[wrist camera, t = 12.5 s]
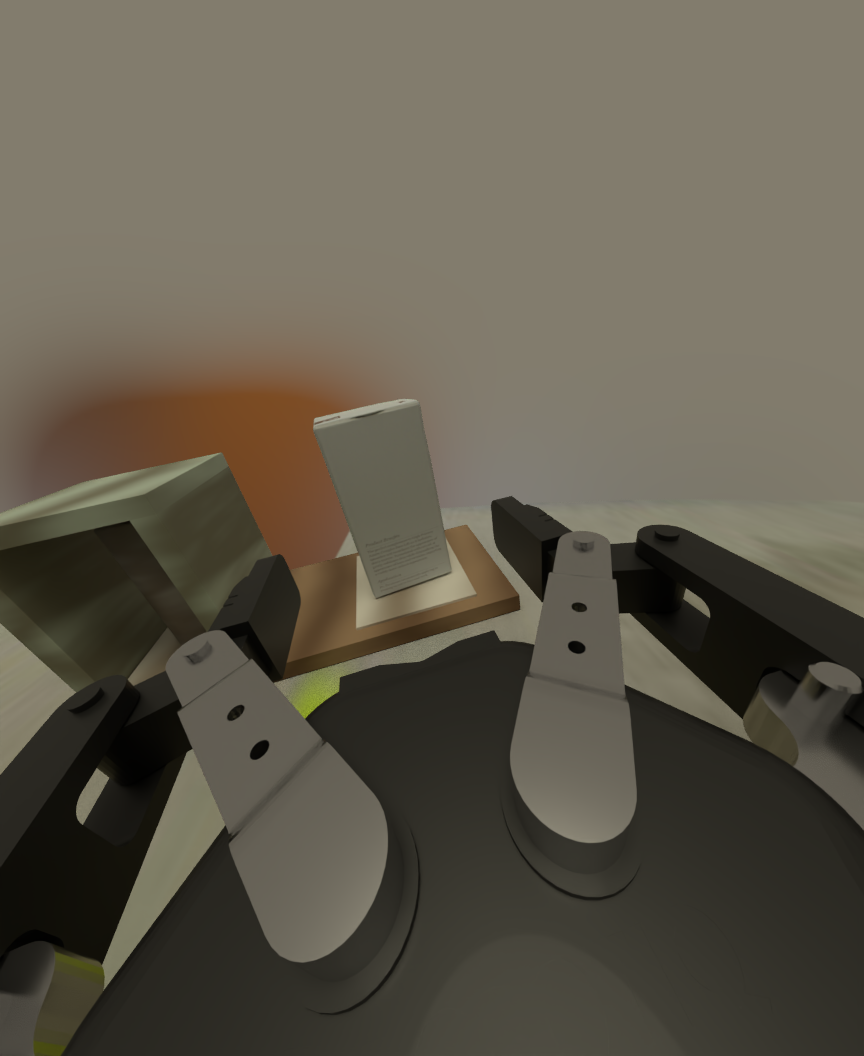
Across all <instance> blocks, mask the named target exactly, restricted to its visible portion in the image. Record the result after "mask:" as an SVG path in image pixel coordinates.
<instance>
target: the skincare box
mask: <svg viewBox="0 0 864 1056" xmlns="http://www.w3.org/2000/svg"><path fill="white" fill-rule="evenodd" d="M313 431H314V434H315V437H316V439H317V442H318V444H319V447H320V449H321V452H322V455H323V458H324V460H325V463H326V466H327V468H328V471H329V474H330V477H331V479H332V482H333V485H334V488H335V490H336V493H337V496H338V499H339V501H340V504H341V507H342V509H343V512H344V515H345V518H346V521H347V523H348V526H349V529H350V532H351V534H352V537H353V540H354V543H355V545H356V548H357V551H358V553H359V556H360V559H361V562H362V564H363V567H364V570H365V573H366V575H367V578H368V581H369V584H370V587H371V589H372V592H373V595H374V597H376V598H378V597H381V596H384V595H387V594H389V593H392V592H395V591H398V590H401V589H403V588H406V587H409V586H412V585H415V584H417V583H420V582H423V581H426V580H429V579H431V578H434V577H437V576H440V575H443V574H445V573H448V572H451V571H452V568H451V563H450V558H449V553H448V548H447V543H446V537H445V532H444V527H443V522H442V516H441V511H440V506H439V501H438V495H437V490H436V485H435V480H434V475H433V470H432V464H431V459H430V454H429V450H428V445H427V440H426V436H425V431H424V426H423V420H422V414H421V407H420V404H419V402H418V401H417V400H413V399H400V400H395V401H390V402H385V403H380V404H375V405H371V406H366V407H361V408H357V409H353V410H348V411H345V412H340V413H336V414H332V415H327V416H323V417H319V418H315V419H314V428H313Z"/></svg>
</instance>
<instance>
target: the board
mask: <svg viewBox="0 0 864 1056" xmlns="http://www.w3.org/2000/svg"><path fill="white" fill-rule="evenodd" d="M444 532H445V537H446V543H447V548H448V553H449V558H450V563H451V568H452V571H451V572H448V573H445V574H443V575H440V576H437V577H434V578H431V579H429V580H426V581H423V582H420V583H417V584H415V585H412V586H409V587H406V588H403V589H401V590H398V591H395V592H392V593H389V594H387V595H384V596H381V597H378V598H376V597H374V595H373V592H372V589H371V587H370V584H369V581H368V578H367V575H366V573H365V570H364V567H363V564H362V562H361V559H360V556H359V553H355V554H351V555H347V556H343V557H339V558H335V559H332V560H328V561H324V562H320V563H316V564H312V565H308V566H305V567H301V568H297V569H293V570H290V572H291V574H292V576H293V578H294V580H295V583H296V585H297V587H298V589H299V592H300V597H301V606H300V610H299V614H298V618H297V622H296V626H295V630H294V635H293V639H292V643H291V647H290V651H289V655H288V659H287V663H286V668H285V672H284V676H283V679H286V678H290V677H293V676H296V675H300V674H303V673H306V672H310V671H313V670H317V669H320V668H323V667H327V666H330V665H334V664H337V663H340V662H344V661H347V660H350V659H354V658H357V657H361V656H364V655H367V654H371V653H374V652H377V651H381V650H384V649H388V648H391V647H394V646H398V645H401V644H405V643H408V642H411V641H415V640H418V639H421V638H425V637H428V636H432V635H435V634H438V633H442V632H445V631H448V630H452V629H455V628H459V627H462V626H465V625H469V624H472V623H476V622H479V621H482V620H486V619H489V618H492V617H496V616H499V615H503V614H506V613H509V612H513V611H516V610H519V609H520V601H519V594H518V593H517V592H516V590H515V589H514V588H513V586H512V585H511V584H510V582H509V581H508V580H507V578H506V577H505V575H504V574H503V573H502V571H501V570H500V569H499V567H498V566H497V565H496V563H495V562H494V561H493V559H492V558H491V557H490V555H489V554H488V553H487V551H486V550H485V549H484V547H483V546H482V545H481V543H480V542H479V541H478V539H477V538H476V536H475V535H474V534H473V532H472V531H471V530H470V528H469V527H468V526H467V525H463V526H459V527H455V528H451V529H447V530H444ZM271 556H272V554H271V552H270V550H269V548H268V546H267V544H266V542H265V540H264V538H263V536H262V534H261V532H260V530H259V528H258V525H257V523H256V522H255V519H254V517H253V515H252V513H251V512H250V509H249V507H248V505H247V503H246V501H245V499H244V497H243V495H242V493H241V491H240V489H239V487H238V485H237V482H236V481H235V478H234V476H233V474H232V472H231V470H230V468H229V466H228V464H227V462H226V460H225V458H224V456H223V454H222V453H218V454H213V455H208V456H203V457H199V458H194V459H189V460H185V461H180V462H175V463H171V464H166V465H161V466H157V467H152V468H147V469H143V470H138V471H133V472H128V473H124V474H120V475H114V476H110V477H106V478H100V479H96V480H91V481H87V482H82V483H79V484H77V485H74V486H71V487H69V488H66V489H64V490H61V491H58V492H55V493H53V494H50V495H47V496H45V497H42V498H40V499H37V500H34V501H31V502H29V503H26V504H23V505H21V506H18V507H15V508H13V509H10V510H8V511H5V512H2V513H0V623H1V624H2V625H3V626H4V627H5V628H6V629H7V630H8V631H9V632H11V633H12V634H13V635H14V636H15V637H16V638H17V639H18V640H19V641H20V642H22V643H23V644H24V645H25V646H26V647H27V648H28V649H29V650H30V651H31V652H33V653H34V654H35V655H36V656H37V657H38V658H39V659H40V660H41V661H42V662H43V663H45V664H46V665H47V666H48V667H49V668H50V669H51V670H52V671H53V672H54V673H56V674H57V675H58V676H59V677H60V678H61V679H62V680H63V681H64V682H65V683H67V684H68V685H69V686H70V687H71V688H72V689H73V690H74V691H75V692H76V693H77V692H78V691H80V690H81V689H83V688H85V687H86V686H88V685H90V684H92V683H94V682H96V681H98V680H100V679H103V678H106V677H109V676H112V675H123V676H125V677H126V678H127V679H128V680H129V682H130V683H131V684H132V685H133V686H134V685H136V684H138V683H140V682H143V681H145V680H147V679H149V678H151V677H153V676H155V675H157V674H159V673H161V672H164V671H166V669H165V667H166V664H167V661H168V660H169V658H170V657H171V656H172V654H173V653H174V652H175V651H176V650H177V649H179V648H180V647H181V646H182V645H184V644H185V643H186V642H188V641H189V640H191V639H193V638H195V637H197V636H199V635H201V634H203V633H206V632H208V630H209V629H210V627H211V625H212V624H213V622H214V620H215V618H216V617H217V615H218V613H219V612H220V610H221V608H223V605H224V603H225V601H226V600H227V599H228V596H229V595H230V593H231V591H232V589H233V588H234V587H235V586H236V585H237V584H238V583H239V582H240V581H241V580H242V579H243V578H244V577H246V576H249V574H250V572H251V570H252V568H253V566H254V565H255V563H256V561H257V560H259V559H263V558H267V557H271ZM283 679H281V680H283ZM278 681H279V680H278ZM275 682H276V681H275Z"/></svg>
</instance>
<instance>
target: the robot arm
mask: <svg viewBox="0 0 864 1056" xmlns="http://www.w3.org/2000/svg"><path fill="white" fill-rule="evenodd" d="M491 511H492V522H493V533H494V540H495V544H496V546H497V548H498V550H499V552H500V553H501V554H502V555H503V556H504V558H505V559H506V560H507V561H508V562H509V564H510V565H511V566H512V567H513V568H514V569H515V571H516V572H517V573H518V574H519V575H520V577H521V578H522V579H523V580H524V581H525V583H526V584H527V585H528V586H529V587H530V589H531V590H532V591H533V592H534V593H535V595H536V596H537V597H538V598H539V599H540V600H541V602H543V606H542V611H541V616H540V621H539V626H538V631H537V636H536V641H535V645H533V644H528V643H524V642H516V641H500V640H499V638H498V636H497V635H496V633H495V631H494V630H493V631H490V632H487V633H483V634H480V635H477V636H474V637H470V638H467V639H464V640H461V641H458V642H456V643H454V644H452V645H450V646H449V647H447V648H445V649H443V650H442V651H440V652H438V653H436V654H434V655H433V656H431V657H429V658H427V659H425V660H423V661H420V662H412V663H400V664H389V665H379V666H376V667H372V668H369V669H366V670H362V671H359V672H356V673H353V674H349V675H346V676H343V677H340V688H339V692H338V693H336V694H334V695H333V696H331V697H330V698H328V699H327V700H325V701H324V702H323V703H322V704H320V705H319V706H318V707H317V708H316V709H315V710H314V711H312V712H311V713H310V714H309V715H308V716H307V717H306V719H304V718H303V717H302V715H301V714H300V713H299V712H298V711H297V710H296V709H295V707H294V706H293V705H292V704H291V703H290V702H289V701H288V699H287V698H286V697H285V696H284V695H283V694H282V693H281V691H280V690H279V689H278V688H277V687H276V686H275V684H274V683H273V682H275V681H278V680H281V679H283V676H284V672H285V668H286V663H287V659H288V655H289V651H290V647H291V643H292V639H293V635H294V630H295V626H296V622H297V618H298V614H299V610H300V606H301V597H300V592H299V589H298V587H297V585H296V583H295V580H294V578H293V576H292V574H291V572H290V570H289V567H288V565H287V563H286V561H285V559H284V558H283V556H282V555H280V554H279V555H275V556H271V557H267V558H263V559H259V560H257V561H256V563H255V565H254V566H253V568H252V570H251V572H250V574H249V576H246V577H244V578H243V579H242V580H241V581H240V582H239V583H238V584H237V585H236V586H235V587H234V588H233V589H232V591H231V593H230V595H229V596H228V599H227V600H226V601H225V603H224V605H223V608H221V610H220V612H219V613H218V615H217V617H216V618H215V620H214V622H213V624H212V625H211V627H210V629H209V630H208V632H206V633H203V634H201V635H199V636H197V637H195V638H193V639H191V640H189V641H188V642H186V643H185V644H184V645H182V646H181V647H180V648H179V649H177V650H176V651H175V652H174V653H173V654H172V656H171V657H170V658H169V660H168V661H167V664H166V667H165V669H166V671H164V672H161V673H159V674H157V675H155V676H153V677H151V678H149V679H147V680H145V681H143V682H140V683H138V684H136V685H134V686H133V685H132V684H131V683H130V682H129V680H128V679H127V678H126V677H125V676H123V675H112V676H109V677H106V678H103V679H100V680H98V681H96V682H94V683H92V684H90V685H88V686H86V687H85V688H83V689H81V690H80V691H78V692H77V693H75V694H74V695H73V696H71V697H70V698H69V699H67V700H66V701H65V702H64V703H63V704H62V705H61V706H59V707H58V708H57V709H56V711H55V712H54V713H53V714H52V715H51V716H50V717H49V719H48V720H47V721H46V722H45V723H44V724H43V726H42V727H41V728H40V729H39V730H38V731H37V733H36V734H35V735H34V736H33V737H32V738H31V740H30V741H29V742H28V743H27V744H26V746H25V747H24V748H23V749H22V750H21V751H20V753H19V754H18V755H17V756H16V757H15V758H14V760H13V761H12V762H11V763H10V764H9V765H8V767H7V768H6V769H5V770H4V771H3V773H2V774H1V775H0V1056H864V618H863V617H861V616H859V615H857V614H855V613H853V612H851V611H849V610H847V609H845V608H843V607H841V606H839V605H837V604H835V603H832V602H830V601H828V600H826V599H824V598H822V597H820V596H818V595H816V594H814V593H812V592H810V591H808V590H806V589H804V588H802V587H800V586H798V585H796V584H794V583H792V582H790V581H788V580H786V579H784V578H782V577H780V576H778V575H776V574H774V573H772V572H770V571H768V570H766V569H764V568H762V567H760V566H758V565H756V564H754V563H752V562H750V561H748V560H746V559H744V558H742V557H740V556H738V555H736V554H734V553H732V552H730V551H728V550H726V549H724V548H722V547H720V546H718V545H716V544H714V543H712V542H710V541H708V540H706V539H704V538H702V537H700V536H698V535H696V534H694V533H692V532H690V531H688V530H685V529H683V528H679V527H676V526H670V525H650V526H646V527H643V528H641V529H640V530H639V531H638V533H637V539H636V542H634V543H620V544H610V542H609V540H608V539H607V538H605V537H604V536H602V535H600V534H597V533H593V532H587V531H575V532H572V531H571V530H569V529H568V528H566V527H565V526H564V525H562V524H561V523H559V522H558V521H556V520H554V519H553V518H552V517H551V516H549V515H547V514H546V513H545V512H544V511H542V510H541V509H539V508H537V507H533V506H530V505H523V504H521V503H520V502H519V501H517V500H516V499H515V498H513V497H512V496H509V497H506V498H502V499H498V500H494V501H492V504H491ZM686 588H687V589H688V590H690V591H691V592H693V593H694V594H696V595H697V596H698V597H700V598H701V599H702V600H703V601H704V602H705V603H706V605H707V606H708V608H709V611H710V618H709V617H707V616H706V615H704V614H703V613H702V612H700V611H699V610H698V609H696V608H695V607H693V606H692V605H691V604H689V603H688V602H687V601H685V600H684V599H683V597H684V593H685V590H686ZM619 613H630V614H631V615H632V616H633V617H634V618H635V619H636V620H637V621H638V622H640V623H641V624H642V625H643V626H644V627H645V628H646V629H647V630H648V631H649V632H650V633H651V634H652V635H653V636H654V637H655V638H657V639H658V640H659V641H660V642H661V643H662V644H663V645H664V646H665V647H666V648H667V649H668V650H669V651H670V652H671V653H673V654H674V655H675V656H676V657H677V658H678V659H679V660H680V661H681V662H682V663H683V664H684V665H685V666H686V667H687V668H689V669H690V670H691V671H692V672H693V673H694V674H695V675H696V676H697V677H698V678H699V679H700V680H701V681H702V682H703V683H704V684H706V685H707V686H708V687H709V688H710V689H711V690H712V691H713V692H714V693H715V694H716V695H717V696H718V697H719V698H720V699H722V700H723V701H724V702H725V703H726V704H727V705H728V706H729V707H730V708H731V709H732V710H733V711H734V712H735V713H736V714H737V715H739V716H740V717H741V718H742V719H743V725H744V728H745V731H746V733H747V735H748V737H749V738H750V740H751V741H752V742H753V743H752V742H750V741H748V740H745V739H743V738H741V737H739V736H737V735H734V734H732V733H730V732H728V731H726V730H723V729H721V728H719V727H717V726H715V725H712V724H710V723H708V722H706V721H704V720H701V719H699V718H697V717H695V716H693V715H690V714H688V713H686V712H684V711H682V710H679V709H677V708H675V707H673V706H671V705H668V704H666V703H664V702H662V701H660V700H657V699H655V698H653V697H651V696H649V695H646V694H644V693H642V692H640V691H638V690H635V689H633V688H631V687H629V686H627V685H624V674H623V661H622V648H621V635H620V622H619ZM191 749H193V750H194V753H195V755H196V757H197V760H198V762H199V764H200V767H201V769H202V771H203V774H204V776H205V778H206V781H207V783H208V785H209V787H210V790H211V792H212V794H213V797H214V799H215V801H216V804H217V806H218V808H219V811H220V813H221V815H222V818H223V820H224V822H225V827H224V828H223V829H222V831H221V832H220V834H219V835H218V836H217V838H216V839H215V840H214V842H213V843H212V844H211V846H210V847H209V848H208V850H207V851H206V853H205V854H204V855H203V857H202V858H201V859H200V861H199V862H198V863H197V865H196V866H195V867H194V869H193V870H192V872H191V873H190V874H189V876H188V877H187V878H186V880H185V881H184V882H183V884H182V885H181V886H180V888H179V889H178V891H177V892H176V893H175V895H174V896H173V897H172V899H171V900H170V901H169V903H168V904H167V905H166V907H165V908H164V910H163V911H162V912H161V914H160V915H159V916H158V918H157V919H156V920H155V922H154V923H153V924H152V926H151V927H150V929H149V930H148V931H147V933H146V934H145V935H144V937H143V938H142V939H141V941H140V942H139V943H138V945H137V946H136V948H135V949H134V950H133V952H132V953H131V954H130V956H129V957H128V958H127V960H126V961H125V962H124V964H123V965H122V966H121V968H120V969H119V971H118V972H117V973H116V975H115V976H114V977H113V979H112V980H111V981H110V983H109V984H108V985H107V987H106V988H105V990H104V979H105V976H104V970H103V967H102V964H103V961H104V959H105V956H106V954H107V951H108V949H109V946H110V944H111V941H112V939H113V936H114V934H115V931H116V929H117V926H118V924H119V921H120V919H121V916H122V914H123V911H124V909H125V906H126V904H127V901H128V899H129V896H130V894H131V891H132V889H133V886H134V884H135V881H136V879H137V876H138V874H139V871H140V869H141V866H142V863H143V861H144V858H145V856H146V853H147V851H148V848H149V846H150V843H151V841H152V838H153V836H154V833H155V831H156V828H157V826H158V823H159V821H160V818H161V816H162V813H163V811H164V808H165V806H166V803H167V801H168V798H169V796H170V793H171V791H172V788H173V786H174V783H175V781H176V778H177V776H178V773H179V771H180V768H181V766H182V763H183V761H184V758H185V756H186V753H187V752H188V751H190V750H191ZM96 768H98V769H99V770H100V771H102V772H103V773H104V774H105V775H107V776H108V777H109V780H108V782H107V784H106V785H105V787H104V789H103V791H102V792H101V794H100V796H99V798H98V799H97V801H96V803H95V805H94V806H93V808H92V810H91V812H90V813H89V815H88V817H87V819H86V820H85V822H84V824H83V825H82V824H81V823H80V822H79V821H78V819H77V816H76V806H77V802H78V799H79V796H80V794H81V792H82V791H83V789H84V788H85V786H86V784H87V783H88V781H89V779H90V778H91V776H92V775H93V773H94V771H95V770H96ZM103 990H104V991H103Z"/></svg>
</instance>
